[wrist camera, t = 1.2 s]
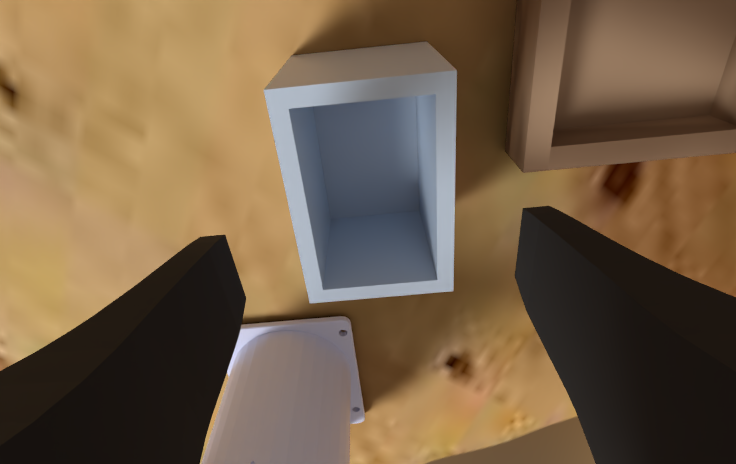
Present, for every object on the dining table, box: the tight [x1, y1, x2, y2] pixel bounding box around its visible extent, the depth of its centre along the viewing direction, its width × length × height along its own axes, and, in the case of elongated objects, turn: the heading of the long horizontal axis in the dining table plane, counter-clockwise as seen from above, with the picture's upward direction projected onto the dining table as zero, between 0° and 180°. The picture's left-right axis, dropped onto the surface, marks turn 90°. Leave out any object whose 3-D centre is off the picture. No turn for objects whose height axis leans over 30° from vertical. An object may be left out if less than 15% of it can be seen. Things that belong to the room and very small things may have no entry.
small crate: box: [264, 41, 457, 303], centre depth 17 cm, size 8×6×6 cm
